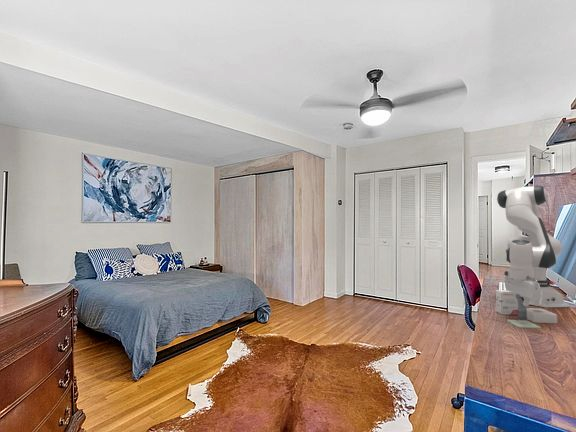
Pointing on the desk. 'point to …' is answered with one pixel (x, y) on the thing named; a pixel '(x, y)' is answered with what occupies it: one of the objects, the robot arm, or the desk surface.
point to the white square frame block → (541, 315)
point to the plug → (522, 309)
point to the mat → (523, 324)
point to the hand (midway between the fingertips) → (522, 304)
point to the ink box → (506, 303)
